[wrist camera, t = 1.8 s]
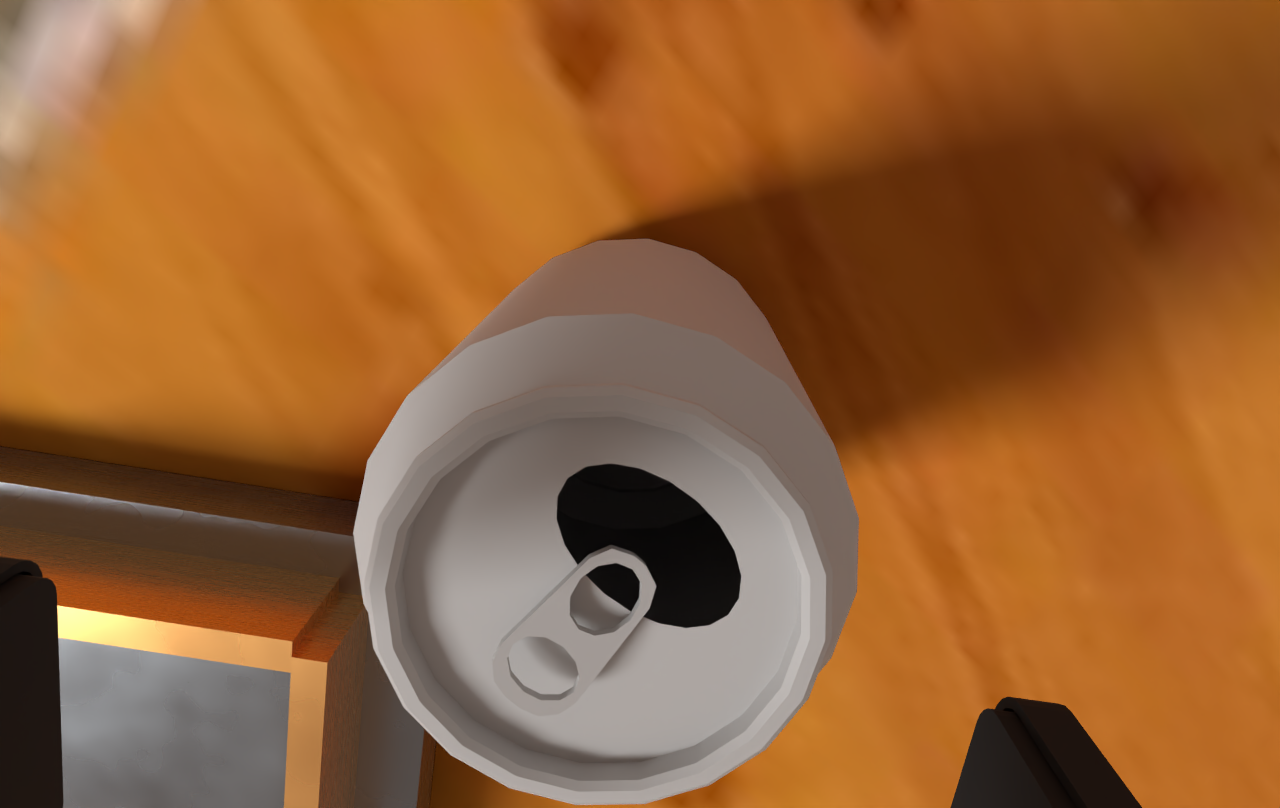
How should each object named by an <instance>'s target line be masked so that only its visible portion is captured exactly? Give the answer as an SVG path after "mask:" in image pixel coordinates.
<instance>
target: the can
mask: <svg viewBox="0 0 1280 808" xmlns="http://www.w3.org/2000/svg"><path fill="white" fill-rule="evenodd" d="M858 525H859V518H858V515H857V512H856V509H855V506H854V503H853V500H852V497H851V494H850V491H849V488H848V485H847V481H846V478H845V475H844V472H843V469H842V466H841V463H840V460H839V457H838V454H837V451H836V448H835V446H834V444H833V442H832V440H831V438H830V436H829V434H828V433H827V431H826V429H825V427H824V425H823V423H822V421H821V420H820V418H819V416H818V414H817V412H816V410H815V408H814V406H813V405H812V403H811V401H810V399H809V397H808V395H807V393H806V392H805V390H804V388H803V386H802V384H801V382H800V380H799V379H798V377H797V375H796V373H795V371H794V369H793V367H792V366H791V364H790V362H789V360H788V358H787V356H786V354H785V352H784V351H783V349H782V347H781V345H780V343H779V341H778V339H777V338H776V336H775V334H774V332H773V330H772V328H771V326H770V325H769V323H768V321H767V319H766V317H765V316H764V315H763V313H762V312H761V311H760V309H759V308H758V307H757V306H756V304H755V303H754V302H753V300H752V299H751V298H750V296H749V295H748V294H747V293H746V291H745V290H744V289H743V287H742V286H741V285H740V283H739V282H738V281H737V280H736V279H735V278H733V277H732V276H730V275H729V274H728V273H726V272H725V271H723V270H722V269H720V268H719V267H717V266H716V265H714V264H713V263H711V262H710V261H708V260H707V259H705V258H704V257H702V256H701V255H699V254H698V253H696V252H694V251H690V250H687V249H683V248H680V247H676V246H673V245H669V244H665V243H662V242H658V241H655V240H651V239H625V240H601V241H596V242H593V243H591V244H588V245H585V246H583V247H580V248H577V249H575V250H572V251H570V252H567V253H564V254H562V255H559V256H556V257H554V258H552V259H551V260H549V261H548V262H547V263H546V264H544V265H543V266H542V267H541V268H540V269H538V270H537V271H536V272H535V273H533V274H532V275H531V276H530V277H528V278H527V279H526V280H525V281H524V282H522V283H521V284H520V285H519V286H517V287H516V288H515V289H514V290H513V291H512V292H511V293H510V294H509V295H508V296H507V297H506V298H505V299H504V300H503V301H502V302H501V303H500V304H499V305H498V306H497V307H496V308H495V309H494V310H493V311H492V312H491V313H490V314H489V315H488V316H487V317H486V318H485V319H484V320H483V321H482V322H481V323H480V324H479V325H478V326H477V327H476V328H475V329H474V330H473V331H472V332H471V333H470V334H469V335H468V336H467V337H466V338H465V339H464V340H463V341H462V342H461V343H460V344H459V345H458V346H457V347H456V348H455V349H454V350H453V351H452V352H451V353H450V354H449V355H448V356H447V357H446V358H445V359H444V360H443V361H442V362H441V363H440V364H439V365H438V366H437V367H436V368H435V369H434V370H433V371H432V372H431V373H430V374H429V375H428V376H427V377H426V378H425V379H424V380H423V381H422V382H421V383H420V384H419V385H418V386H417V387H416V388H415V389H414V390H413V391H412V392H411V393H409V394H408V395H407V397H406V399H405V400H404V402H403V404H402V405H401V407H400V408H399V410H398V412H397V413H396V415H395V417H394V418H393V420H392V422H391V423H390V425H389V426H388V428H387V430H386V431H385V433H384V435H383V436H382V438H381V440H380V441H379V443H378V444H377V446H376V448H375V449H374V451H373V453H372V454H371V456H370V458H369V459H368V461H367V466H366V471H365V476H364V481H363V486H362V491H361V496H360V501H359V506H358V511H357V516H356V521H355V526H354V531H353V535H354V542H355V549H356V556H357V563H358V570H359V576H360V583H361V590H362V597H363V604H364V606H365V608H366V610H367V612H368V615H369V622H370V629H371V636H372V643H373V649H374V651H375V653H376V655H377V656H378V658H379V660H380V662H381V664H382V666H383V668H384V670H385V672H386V674H387V676H388V678H389V680H390V682H391V684H392V686H393V688H394V690H395V692H396V694H397V696H398V698H399V700H400V701H401V703H402V705H403V707H404V708H405V709H406V710H407V711H408V712H409V713H410V714H411V715H412V716H413V717H414V718H415V719H416V720H417V721H418V722H419V723H420V725H421V726H422V727H423V728H424V729H425V730H426V731H427V732H428V733H429V734H430V735H431V736H432V737H433V738H434V739H435V740H436V741H437V742H438V743H439V744H440V745H441V746H442V747H443V748H444V749H445V750H446V751H447V752H448V753H449V754H450V755H451V756H453V757H455V758H457V759H459V760H460V761H462V762H464V763H466V764H467V765H469V766H471V767H473V768H475V769H476V770H478V771H480V772H482V773H483V774H485V775H487V776H489V777H491V778H492V779H494V780H496V781H498V782H499V783H501V784H503V785H505V786H507V787H508V788H511V789H515V790H519V791H523V792H527V793H531V794H535V795H538V796H542V797H546V798H550V799H554V800H558V801H562V802H566V803H570V804H574V805H606V804H646V803H649V802H653V801H656V800H660V799H663V798H667V797H670V796H674V795H677V794H680V793H684V792H687V791H691V790H694V789H698V788H701V787H704V786H708V785H710V784H712V783H714V782H715V781H717V780H718V779H720V778H721V777H723V776H725V775H726V774H728V773H729V772H731V771H732V770H734V769H736V768H737V767H739V766H740V765H742V764H743V763H745V762H747V761H748V760H750V759H751V758H753V757H754V756H756V755H758V754H759V753H761V752H762V751H764V750H766V749H767V747H768V746H769V745H770V744H771V743H772V741H773V740H774V739H775V738H776V737H777V735H778V734H779V733H780V732H781V731H782V730H783V728H784V727H785V726H786V725H787V724H788V722H789V721H790V720H791V719H792V718H793V716H794V715H795V714H796V713H797V712H798V710H799V709H800V708H801V707H802V706H803V704H804V703H805V702H806V701H807V700H808V698H809V695H810V693H811V690H812V688H813V685H814V682H815V680H816V677H817V675H818V673H819V672H820V671H821V669H822V668H823V667H824V666H825V665H826V663H827V662H828V661H829V660H830V659H831V657H832V654H833V652H834V649H835V646H836V644H837V641H838V639H839V636H840V633H841V631H842V628H843V626H844V623H845V621H846V618H847V615H848V613H849V610H850V608H851V605H852V602H853V600H854V597H855V595H856V592H857V564H858Z"/></svg>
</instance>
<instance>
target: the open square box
mask: <svg viewBox="0 0 1280 808" xmlns="http://www.w3.org/2000/svg"><path fill="white" fill-rule="evenodd" d="M358 506H359V502H355V501H349V500H342V499H336V498H330V497H323V496H317V495H310V494H304V493H297V492H291V491H284V490H278V489H272V488H265V487H259V486H252V485H246V484H239V483H233V482H226V481H220V480H214V479H207V478H201V477H194V476H188V475H181V474H175V473H168V472H162V471H156V470H149V469H143V468H136V467H130V466H123V465H117V464H110V463H104V462H98V461H91V460H85V459H78V458H72V457H65V456H59V455H52V454H46V453H40V452H33V451H27V450H20V449H14V448H7V447H1V446H0V556H2V557H9V558H16V559H23V560H30V561H33V562H34V563H36V564H37V565H38V566H39V568H40V570H41V572H42V575H43V578H49V579H50V580H52V581H53V583H54V585H55V586H56V591H57V609H58V640H59V672H60V704H61V735H62V767H63V799H64V801H63V808H429V806H430V796H431V787H432V777H433V768H434V759H435V749H436V740H435V739H434V738H433V737H432V736H431V735H430V734H429V733H428V732H427V731H426V730H425V729H424V728H423V727H422V726H421V725H420V723H419V722H418V721H417V720H416V719H415V718H414V717H413V716H412V715H411V714H410V713H409V712H408V711H407V710H406V709H405V708H404V707H403V705H402V703H401V701H400V700H399V698H398V696H397V694H396V692H395V690H394V688H393V686H392V684H391V682H390V680H389V678H388V676H387V674H386V672H385V670H384V668H383V666H382V664H381V662H380V660H379V658H378V656H377V655H376V653H375V651H374V649H373V643H372V636H371V629H370V622H369V615H368V612H367V610H366V608H365V606H364V604H363V597H362V590H361V583H360V576H359V570H358V563H357V556H356V549H355V542H354V535H353V531H354V526H355V521H356V516H357V511H358Z"/></svg>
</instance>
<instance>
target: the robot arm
mask: <svg viewBox="0 0 1280 808" xmlns="http://www.w3.org/2000/svg"><path fill="white" fill-rule="evenodd" d="M63 801H64V799H63V767H62V735H61V704H60V672H59V640H58V609H57V591H56V586H55V585H54V583H53V581H52V580H50V579H49V578H43V575H42V572H41V570H40V568H39V566H38V565H37V564H36V563H34V562H33V561H30V560H23V559H16V558H9V557H2V556H0V808H63ZM951 808H1142V807H1141V805H1140V804H1139V803H1138V801H1137V800H1136V799H1135V797H1134V796H1133V795H1132V793H1131V792H1130V791H1129V789H1128V788H1127V787H1126V785H1125V784H1124V782H1123V781H1122V780H1121V778H1120V777H1119V776H1118V774H1117V773H1116V772H1115V770H1114V769H1113V768H1112V766H1111V765H1110V764H1109V762H1108V761H1107V759H1106V758H1105V757H1104V755H1103V754H1102V753H1101V751H1100V750H1099V749H1098V747H1097V746H1096V745H1095V743H1094V742H1093V741H1092V739H1091V738H1090V736H1089V735H1088V734H1087V732H1086V731H1085V730H1084V728H1083V727H1082V726H1081V724H1080V723H1079V722H1078V720H1077V719H1076V718H1075V716H1074V715H1073V714H1072V712H1071V711H1070V710H1069V709H1068V708H1067V707H1066V706H1064V705H1061V704H1057V703H1049V702H1042V701H1035V700H1028V699H1021V698H1013V697H1006V698H1003V699H1002V700H1001V701H1000V702H999V703H998V704H997V706H996V708H995V709H985V710H983V712H982V713H981V714H980V716H979V718H978V720H977V723H976V727H975V730H974V733H973V736H972V740H971V743H970V746H969V749H968V753H967V756H966V759H965V763H964V766H963V769H962V772H961V776H960V779H959V782H958V786H957V789H956V792H955V795H954V799H953V802H952V805H951Z"/></svg>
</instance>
